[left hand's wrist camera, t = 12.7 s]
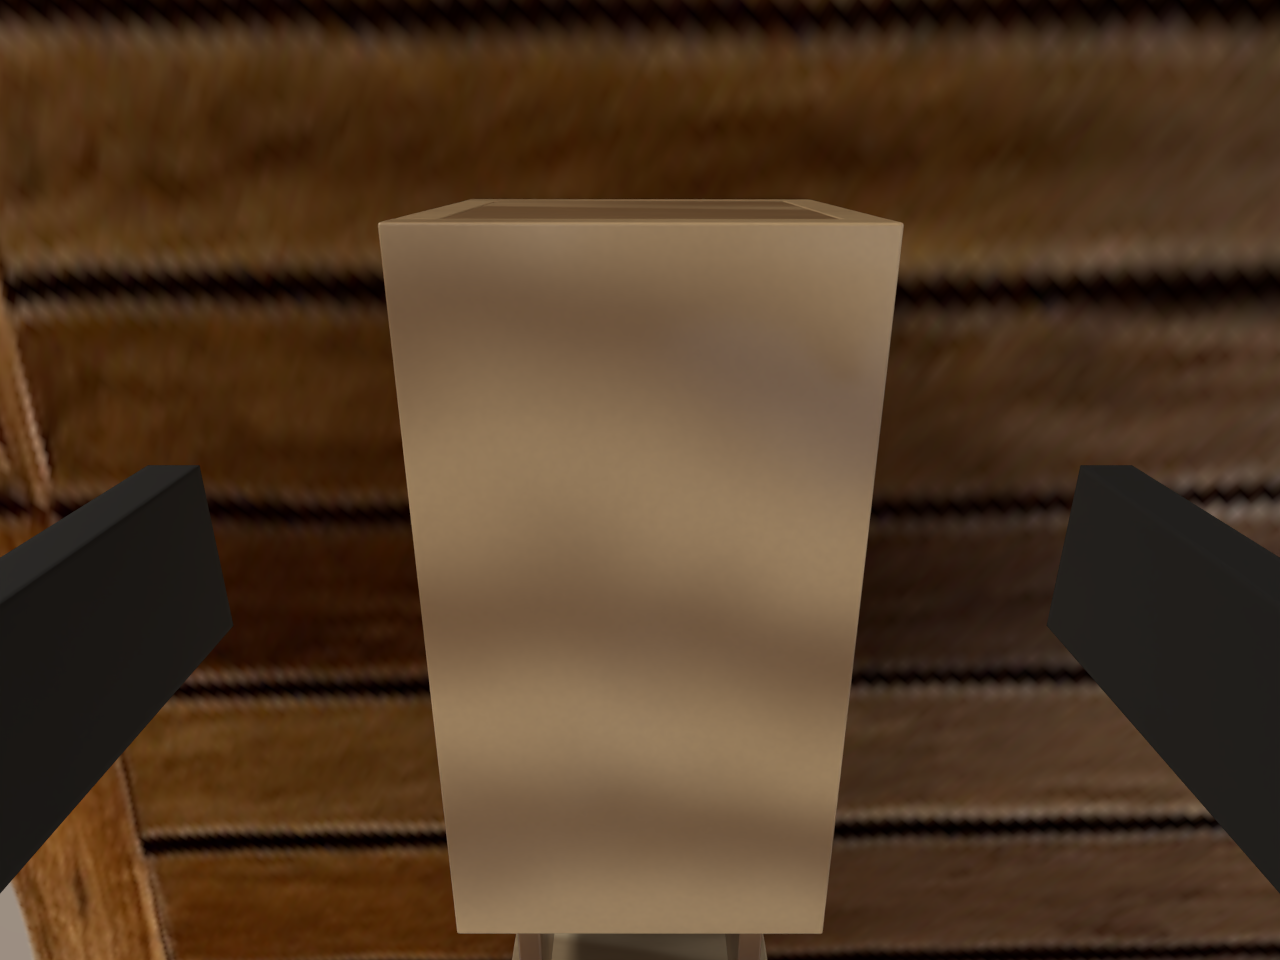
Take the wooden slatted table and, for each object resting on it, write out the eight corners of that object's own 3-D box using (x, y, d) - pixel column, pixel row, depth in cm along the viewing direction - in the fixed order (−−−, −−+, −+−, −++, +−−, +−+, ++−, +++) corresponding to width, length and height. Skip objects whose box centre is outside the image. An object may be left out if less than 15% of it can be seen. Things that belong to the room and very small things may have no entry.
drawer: (745, 975, 40) (771, 1174, 32) (533, 975, 40) (507, 1173, 32) (779, 484, 30) (828, 597, 22) (500, 484, 30) (452, 597, 22)
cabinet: (772, 721, 35) (822, 934, 26) (507, 721, 35) (456, 934, 26) (811, 199, 27) (905, 222, 18) (469, 199, 27) (376, 222, 18)
